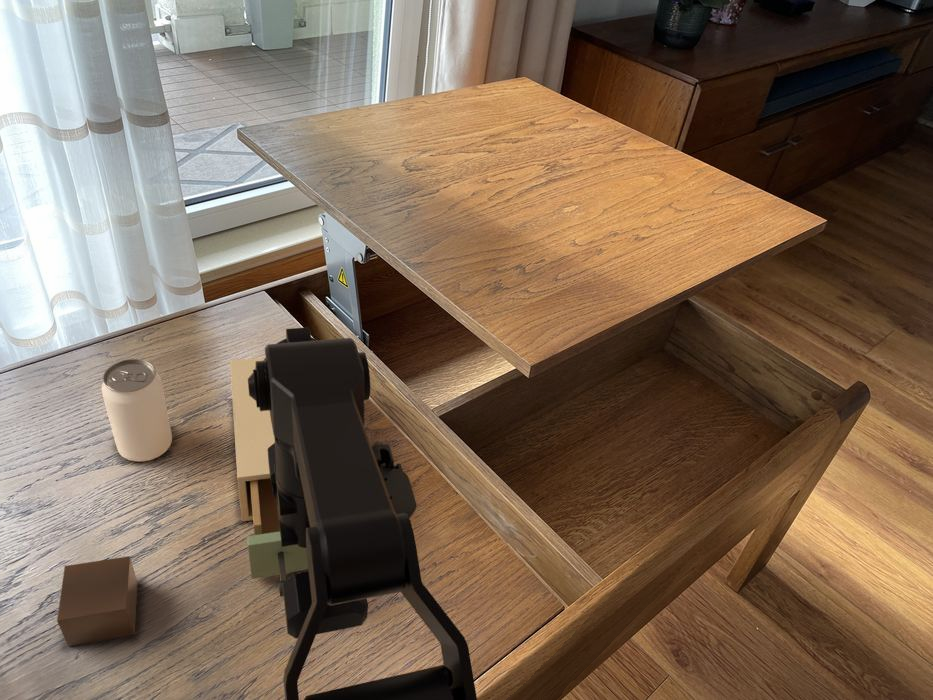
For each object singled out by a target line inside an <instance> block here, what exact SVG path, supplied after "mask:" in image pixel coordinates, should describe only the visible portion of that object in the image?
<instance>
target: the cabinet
mask: <svg viewBox="0 0 933 700" xmlns="http://www.w3.org/2000/svg"><path fill="white" fill-rule="evenodd" d="M264 359H265V357H254V358H242V359H241V358H239V359H232V360H231V359H230V360H229V367H230V381H231V383H230V384H231V393H232V394H231V397H232V398H231V399H232V412H233V414H232V415H233V431H234V446H235V447H234V448H235V461H236V478H237V486H238V496H239V505H240V506H239V507H240V515H241V522H248V521H253V512H252V499H251V486H250V481H251V480H259V479H267V478H270V472H269V463H268V448H269V447H270V446H271V445H273V444H274V443H275V439H274V434H273V429H272V423H271V417H270V410H268V411H260V409H259V407H257V405H256V401H255V400H254V399H253V398H252V397H250V396H249V388H248V378H249V377H250V376H251V374H252V373H253V370H254V369H256V361H264Z"/></svg>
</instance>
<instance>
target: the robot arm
mask: <svg viewBox="0 0 933 700" xmlns="http://www.w3.org/2000/svg"><path fill="white" fill-rule="evenodd" d="M310 329H311V328H310V327H309V326H306V327H295V328H294V327H293V328H285V338H284V339H282V340H280V341H278V342H276V343H269V344H267V345H266V346H265V347H264V354H265V355H264V358H265V359H264V361H256V369H254V370H253V373H252V374H251V376H250V377H249V378H248V388H249V396H250V397H252V398H253V399H254V400H255V401H256V405H257V407H259V409H260V411H268V410H270V417H271V423H272V429H273V434H274V439H275V443H274V444H273V445H271V446H270V447H269V448H268V463H269V472H270V481H271V484H272V492H273V496H274V498H275V499H276V502H277V510H278V519H279V528H280V536H281V545H282V547H284V546H291V545H298V546H299V547H302V548H306V549H307V560H308V569H307V571H302V572H296V573H293V574H292V575H290V576H289V577H287V578H286V580H285V581H284V582H283V595H284V596H283V603H284V604H283V605H284V613H285V614H284V615H285V623H286V630H287V634H288V635H289V636H291V637H293V638H294V639H296V642H295V644H294V647H293V649H292V651H291V654H290V656H289V659H288V661H287V664H286V666H285V669H284V673H283V681H282V682H283V691H284V700H300V697H299V696H300V695H299V686H298V683H299V679H300V676H301V674H302V671H303V668H304V666H305V664H306V662H307V659H308V656H309V654H310V651H311V648H312V646H313V644H314V642H315V639H316V636H317V635H321V634H327V633H331V632H335V631H336V632H337V631H341V630H346V629H351V628H355V627H361V626H362V625H363V624H365V621H366V620H367V619H368V613H369V601H368V599H371V598H377V597H383V596H387V595H388V596H389V595H392V594H397V593H401V594H402V595H403V597H404V599H405V600H406V601H407V602H408V604H409V605H410V606H411V607H412V609H413V610H414V612H415V613H416V614H417V615H418V617H419V618H420V619H421V621H422V622H423V623H424V624H425V626H426V627H427V629H428V630H429V631H430V632H431V633H432V636H434V637H435V639H436V640H437V641H438V642H439V644H440V648H441V650H440V651H441V656H442V662H443V663H442V664H441V665H437V666H436V665H435V666H432V667H427V668H424V669H423V668H422V669H419V670H415V671H410V672H405V673H401V674H397V675H392V676H388V677H384V678H379V679H375V680H371V681H366V682H361V683H357V684H352V685H349V686H344V687H340V688H335V689H331V690H327V691H322V692H317V693H313V694H309V695H306V696H305V697H304V698H303V700H478V696H477V691H476V685H475V679H474V674H473V673H474V672H473V667H472V660H471V655H470V648H469V645H468V642H467V640H466V638H465V636H464V635H463V633H462V632H461V631H460V630H459V628H458V627H457V626H456V625H455V623H454V621H452V619H451V618H450V617H449V615H448V614H447V613H446V612H445V610H444V609H443V607H442V606H441V605H440V604H439V603H438V601H437V600H436V599H435V597H434V596H433V595H432V593H431V592H430V591H429V590H428V588H427V587H426V586H425V584H424V582H423V580H422V575H421V568H420V562H419V555H418V549H417V543H416V537H415V533H414V528H413V525H412V522H411V520H410V519H411V517H412V516H413V515H414V513H415V511H416V510H417V508H418V506H417V500H416V498H415V497H416V496H415V494H414V491H413V488H412V484H411V481H410V477H409V475H408V474H407V473H406V472H405V471H404V470H403V466H402V463H396V464H395V461H394V456H393V453H392V448H391V446H390V445H389V444H383V443H375V444H374V445H372V444H371V441H370V438H369V434H368V433H367V430H366V427H365V401H369V400H370V398H371V397H370V396H371V375H370V374H371V373H370V366H369V361H368V358H367V354H366V353H365V352H364V351H360V352H359V350H358V349H359V348H358V346H357V343H356V342H355V340H354V339H353V338H351V337H344V338H335V339H334V338H332V339H317V338H314V337H312V334H311V330H310Z"/></svg>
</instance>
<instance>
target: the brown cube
mask: <svg viewBox="0 0 933 700" xmlns="http://www.w3.org/2000/svg"><path fill="white" fill-rule="evenodd" d="M138 585H139V584H138V579H137V576H136V572H135V569H134V566H133V562H132V559H131V556H130V555H127V556H121V557H116V558H115V557H114V558H108V559H102V560H96V561H90V562H89V561H88V562H82V563H75V564H69V565H64V567H63V575H62V583H61V589H60V597H59V604H58V611H57V617H56V622H57V624H58V626H59V629H60V631H61V634H62V635H63V638H64V640H65V642H66V644H67V646H68V647H74V646H80V645H85V644H90V643H96V642H102V641H107V640H113V639H118V638H124V637H128V636H135V634H136V620H137V619H136V617H137V601H138Z"/></svg>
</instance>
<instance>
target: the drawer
mask: <svg viewBox="0 0 933 700" xmlns="http://www.w3.org/2000/svg"><path fill="white" fill-rule="evenodd" d="M250 486H251V499H252V512H253V520H252V522H253V523H252V524H253V535H248V536H247V538H246V539H247V550H248V560H249V561H248V562H249V568H250V569H249V571H250V577H251V578H250V579H251V580H254V579H259V578H265V577H270V576H271V577H272V576H276V575H279V580H280V581H278V592H279V597H280V598H281V597H284V595H283V582H284V581H285V580H287V574H290V573H295V572H296V573H297V572H300V571H308V560H307V549H306V548H302V547H299V546H298V545H291V546H284V547H282V545H281V536H280V528H279V519H278V510H277V502H276V499H275V498H274V496H273V492H272V484H271V481H270V478H267V479H259V480H251V481H250Z"/></svg>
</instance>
